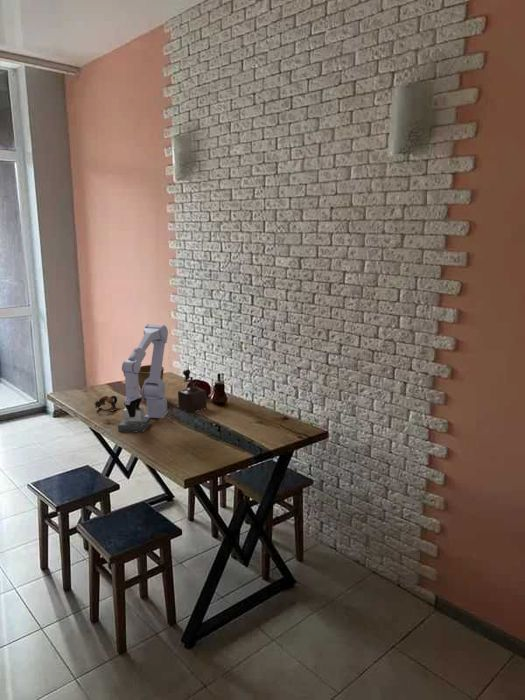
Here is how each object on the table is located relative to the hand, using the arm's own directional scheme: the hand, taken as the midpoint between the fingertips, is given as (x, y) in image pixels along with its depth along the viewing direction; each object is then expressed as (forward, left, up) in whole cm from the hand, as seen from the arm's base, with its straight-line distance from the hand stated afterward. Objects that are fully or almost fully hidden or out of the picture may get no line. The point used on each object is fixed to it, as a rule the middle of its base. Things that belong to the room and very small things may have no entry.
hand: (133, 415), depth 244 cm
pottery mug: (+22, -23, -6) cm, 33 cm away
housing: (0, 0, -2) cm, 2 cm away
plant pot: (+7, -45, -6) cm, 46 cm away
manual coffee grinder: (-18, -31, -6) cm, 36 cm away
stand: (0, 0, -6) cm, 6 cm away
